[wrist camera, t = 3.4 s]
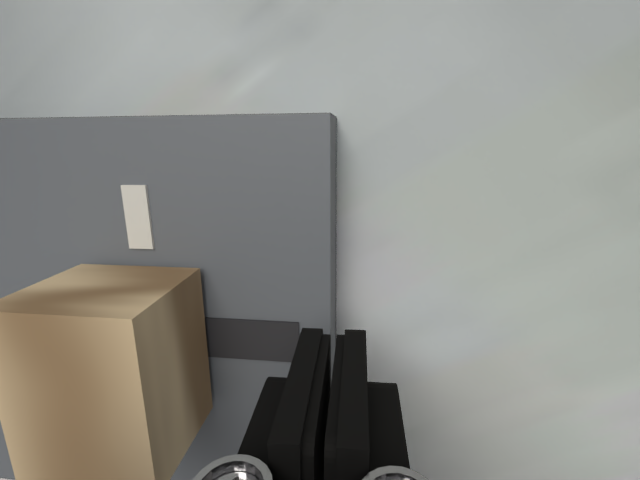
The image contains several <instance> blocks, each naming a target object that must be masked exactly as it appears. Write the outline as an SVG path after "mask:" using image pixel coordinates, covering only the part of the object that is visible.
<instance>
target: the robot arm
mask: <svg viewBox="0 0 640 480" xmlns="http://www.w3.org/2000/svg"><path fill="white" fill-rule="evenodd" d="M193 480H428V479H427V478H426V477H424V476H423V475H421V474H419V473H418V472H416V471H414V470H411V469H410V466H409V459H408V453H407V446H406V440H405V433H404V426H403V420H402V413H401V407H400V400H399V393H398V387H397V384H396V383H378V382H367V355H366V330H345V335H337V338H336V346H335V355H334V364H333V372H332V381H331V335H330V334H323V329H320V328H302V330H301V333H300V336H299V340H298V343H297V346H296V349H295V353H294V356H293V359H292V363H291V366H290V369H289V373H288V376H287V378H286V377H268V378H267V379H266V381H265V384H264V386H263V389H262V391H261V394H260V396H259V399H258V402H257V404H256V407H255V409H254V412H253V415H252V417H251V420H250V422H249V425H248V428H247V430H246V433H245V435H244V438H243V441H242V443H241V446H240V448H239V451H238V453H237V454H235V455H229V456H224V457H222V458H219V459H217V460H215V461H212V462H211V463H210V464H208V465H207V466H205V467H204V468H203V469H201V471H200V472H199V473H198V474H197V475H196V476H195V477H194V479H193Z"/></svg>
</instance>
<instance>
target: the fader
mask: <svg viewBox="0 0 640 480" xmlns="http://www.w3.org/2000/svg"><path fill="white" fill-rule="evenodd" d="M212 408H213V404H212V393H211V382H210V371H209V360H208V350H207V339H206V328H205V317H204V306H203V295H202V284H201V273H200V268H185V267H156V266H128V265H100V264H80V265H77V266H75V267H73V268H70V269H68V270H66V271H63V272H61V273H59V274H56V275H54V276H52V277H49V278H47V279H45V280H42V281H40V282H38V283H35V284H33V285H31V286H28V287H26V288H24V289H21V290H19V291H17V292H14V293H12V294H10V295H7V296H5V297H3V298H0V421H1V425H2V429H3V433H4V437H5V441H6V445H7V448H8V452H9V456H10V460H11V464H12V468H13V472H14V476H15V479H16V480H170V479H171V477H172V476H173V474H174V472H175V470H176V469H177V467H178V465H179V464H180V462H181V460H182V459H183V457H184V455H185V454H186V452H187V450H188V448H189V447H190V445H191V443H192V442H193V440H194V438H195V437H196V435H197V433H198V431H199V430H200V428H201V426H202V425H203V423H204V421H205V420H206V418H207V416H208V415H209V413H210V411H211V409H212Z"/></svg>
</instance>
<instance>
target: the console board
mask: <svg viewBox="0 0 640 480" xmlns="http://www.w3.org/2000/svg"><path fill="white" fill-rule="evenodd" d="M80 264H100V265H128V266H156V267H185V268H200V273H201V284H202V295H203V306H204V317H205V328H206V339H207V350H208V360H209V371H210V382H211V393H212V404H213V408H212V409H211V411H210V413H209V415H208V416H207V418H206V420H205V421H204V423H203V425H202V426H201V428H200V430H199V431H198V433H197V435H196V437H195V438H194V440H193V442H192V443H191V445H190V447H189V448H188V450H187V452H186V454H185V455H184V457H183V459H182V460H181V462H180V464H179V465H178V467H177V469H176V470H175V472H174V474H173V476H172V477H171V479H170V480H193V479H194V477H195V476H196V475H197V474H198V473H199V472H200V471H201V469H203V468H204V467H205V466H207V465H208V464H210V463H211V462H212V461H215V460H217V459H219V458H222V457H224V456H229V455H235V454H237V453H238V451H239V448H240V446H241V443H242V441H243V438H244V435H245V433H246V430H247V428H248V425H249V422H250V420H251V417H252V415H253V412H254V409H255V407H256V404H257V402H258V399H259V396H260V394H261V391H262V389H263V386H264V384H265V381H266V379H267V378H268V377H286V378H287V376H288V373H289V369H290V366H291V363H292V359H293V356H294V353H295V349H296V346H297V343H298V340H299V336H300V333H301V330H302V328H320V329H323V334H330V335H331V381H332V372H333V364H334V355H335V346H336V116H334V115H333V114H331V113H288V114H228V115H169V116H110V117H51V118H0V298H3V297H5V296H7V295H10V294H12V293H14V292H17V291H19V290H21V289H24V288H26V287H28V286H31V285H33V284H35V283H38V282H40V281H42V280H45V279H47V278H49V277H52V276H54V275H56V274H59V273H61V272H63V271H66V270H68V269H70V268H73V267H75V266H77V265H80ZM0 478H5V479H13V480H16V479H15V476H14V472H13V468H12V464H11V460H10V456H9V452H8V448H7V445H6V441H5V437H4V433H3V429H2V425H1V421H0Z"/></svg>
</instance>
